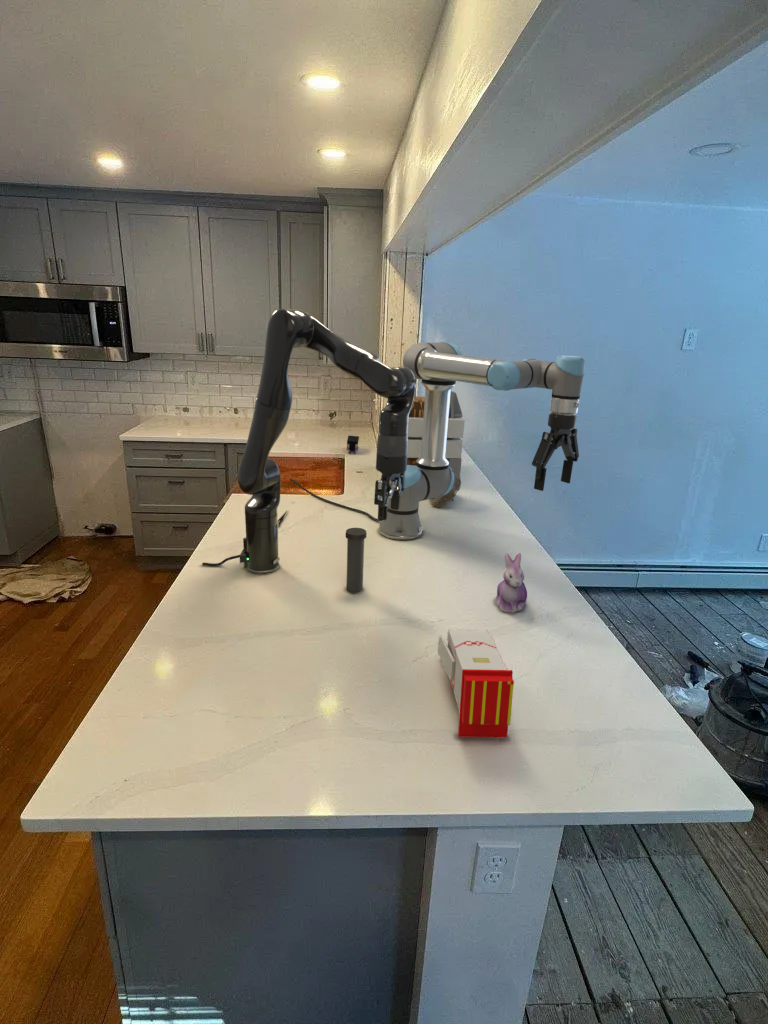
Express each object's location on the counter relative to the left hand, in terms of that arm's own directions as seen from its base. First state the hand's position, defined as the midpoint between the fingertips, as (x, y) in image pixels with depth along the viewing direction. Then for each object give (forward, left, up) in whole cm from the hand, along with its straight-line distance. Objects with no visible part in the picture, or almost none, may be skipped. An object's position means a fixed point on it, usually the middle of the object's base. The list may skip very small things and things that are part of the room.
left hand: (388, 514), depth 143 cm
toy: (+30, -26, -26) cm, 47 cm away
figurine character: (-81, +149, -26) cm, 172 cm away
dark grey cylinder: (-11, +4, -26) cm, 29 cm away
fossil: (-12, +93, -26) cm, 97 cm away
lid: (-11, +4, -9) cm, 15 cm away
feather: (-60, +47, -26) cm, 80 cm away
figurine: (+31, +15, -26) cm, 43 cm away
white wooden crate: (-35, +127, -26) cm, 135 cm away
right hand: (+35, +41, +2) cm, 54 cm away
